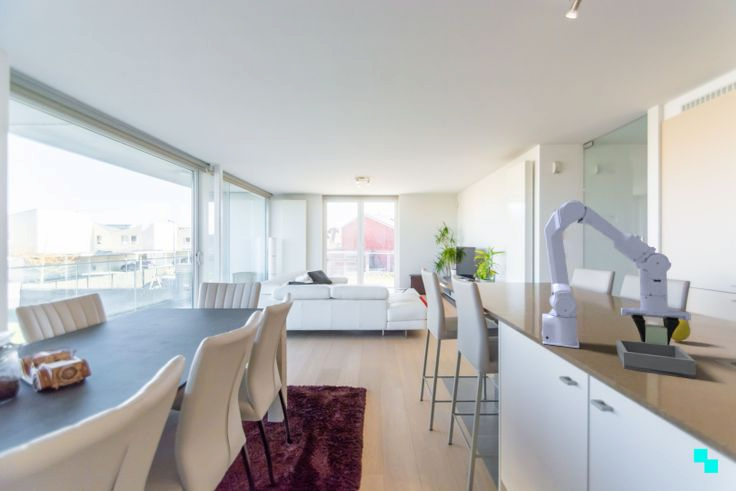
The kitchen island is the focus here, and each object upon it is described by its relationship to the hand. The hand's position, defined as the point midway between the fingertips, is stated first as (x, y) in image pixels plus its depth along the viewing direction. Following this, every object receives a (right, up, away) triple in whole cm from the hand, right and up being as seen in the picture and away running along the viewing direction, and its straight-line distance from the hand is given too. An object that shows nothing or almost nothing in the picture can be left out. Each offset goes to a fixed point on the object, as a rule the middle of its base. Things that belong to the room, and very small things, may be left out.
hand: (654, 343), depth 89 cm
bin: (-9, -3, -9) cm, 14 cm away
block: (0, -2, 0) cm, 2 cm away
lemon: (+15, -3, +9) cm, 17 cm away
